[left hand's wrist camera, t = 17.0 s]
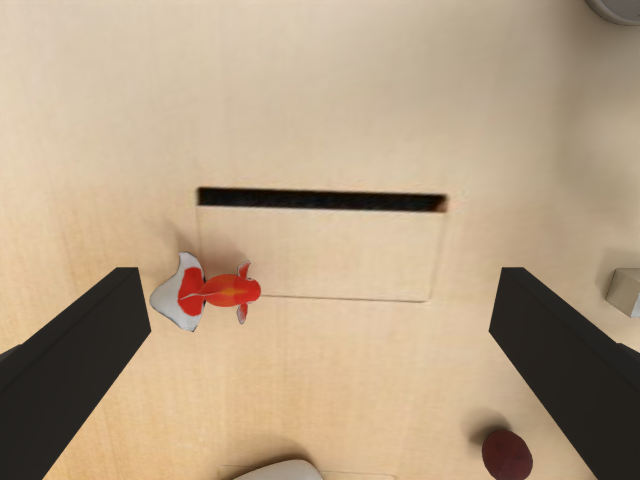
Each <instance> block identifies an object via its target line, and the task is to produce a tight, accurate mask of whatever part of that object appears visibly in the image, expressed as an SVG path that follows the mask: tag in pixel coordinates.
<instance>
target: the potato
mask: <svg viewBox="0 0 640 480" xmlns="http://www.w3.org/2000/svg"><path fill="white" fill-rule="evenodd" d="M482 457H483V461H484V464H485V467H486V468H487V470H488V471H489V473H490V474H491V476H493V477H494V478H495V479H496V480H524V479H526V478H527V477H528V476H529V475H530V473H531V470H532V467H533V459H532V455H531V453H530V451H529V449H528V447H527V445H526V443H525V442H524V440H523V439H522V438H521V437H519V436H518V435H516V434H515V433H513V432H511V431H507V430H499V431H496V432H494V433H492V434H491V435H490V436H489V437H488V438H487V439H486V440H485V441H484V443H483V447H482Z"/></svg>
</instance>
